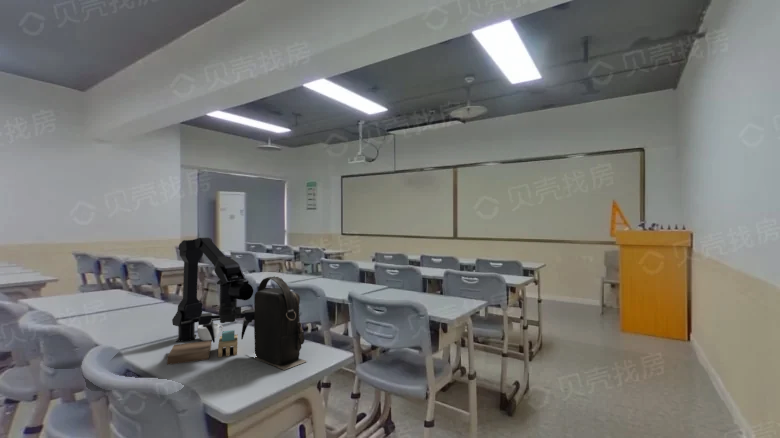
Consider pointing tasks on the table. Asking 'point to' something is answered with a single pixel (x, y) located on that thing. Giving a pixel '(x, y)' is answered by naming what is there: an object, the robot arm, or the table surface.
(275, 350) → the shoulder bag
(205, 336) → the teacup
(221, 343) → the pallet
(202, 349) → the block
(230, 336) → the teal square block
